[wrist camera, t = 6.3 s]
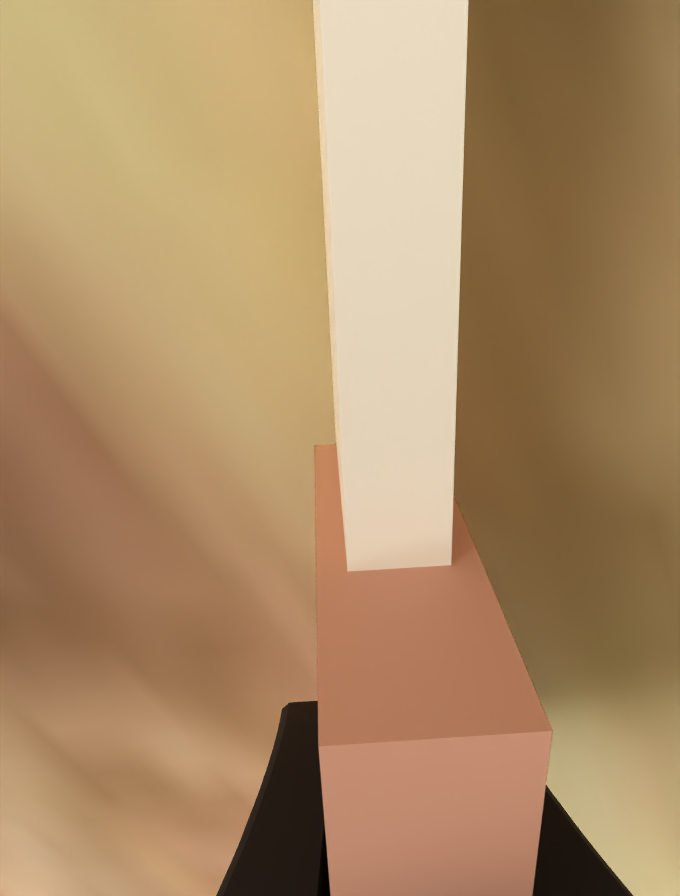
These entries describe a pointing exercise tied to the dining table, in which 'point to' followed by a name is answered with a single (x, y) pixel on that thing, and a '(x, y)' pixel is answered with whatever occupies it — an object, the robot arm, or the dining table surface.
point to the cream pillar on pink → (408, 492)
